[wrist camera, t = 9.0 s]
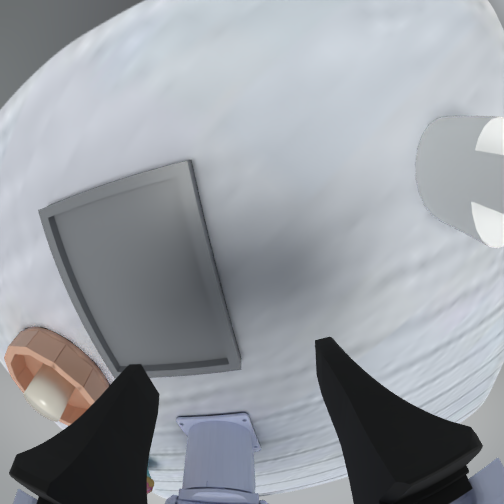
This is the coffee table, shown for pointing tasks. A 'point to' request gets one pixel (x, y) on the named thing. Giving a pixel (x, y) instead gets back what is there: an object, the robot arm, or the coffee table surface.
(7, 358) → the terracotta bowl
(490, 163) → the grey white cylinder
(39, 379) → the smooth grey cylinder
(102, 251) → the parts tray
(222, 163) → the coffee table surface
